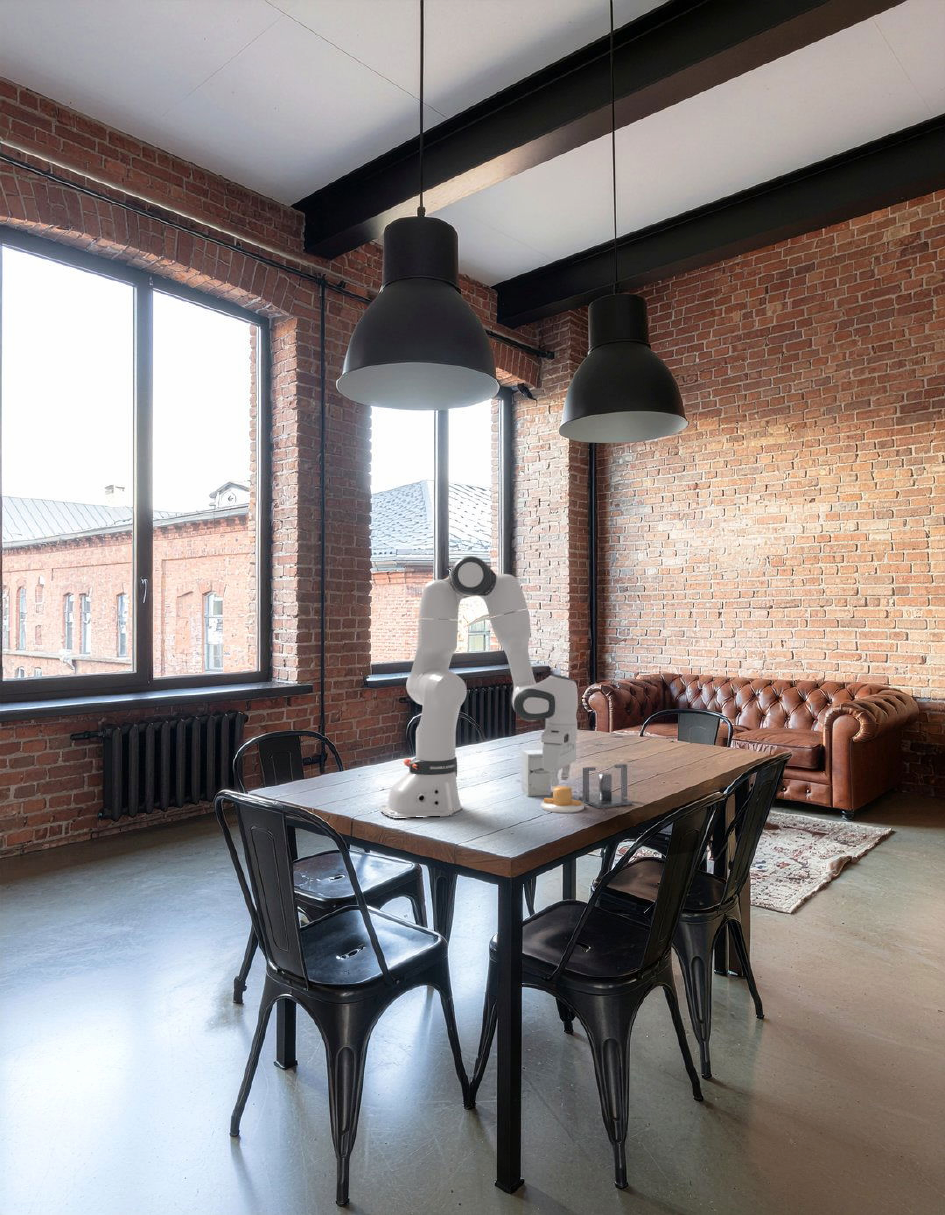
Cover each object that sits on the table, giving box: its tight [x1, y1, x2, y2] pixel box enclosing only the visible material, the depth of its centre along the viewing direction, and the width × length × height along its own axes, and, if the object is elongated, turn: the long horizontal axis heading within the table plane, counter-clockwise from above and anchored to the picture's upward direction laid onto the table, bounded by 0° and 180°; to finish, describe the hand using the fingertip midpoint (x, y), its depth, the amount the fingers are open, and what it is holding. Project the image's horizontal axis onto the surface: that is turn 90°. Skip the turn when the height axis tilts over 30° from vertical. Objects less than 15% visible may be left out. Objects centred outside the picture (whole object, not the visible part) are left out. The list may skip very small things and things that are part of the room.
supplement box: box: [521, 749, 552, 797], centre depth 236 cm, size 7×7×13 cm
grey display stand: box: [578, 763, 634, 809], centre depth 225 cm, size 14×11×10 cm
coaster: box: [540, 798, 585, 814], centre depth 219 cm, size 12×12×1 cm
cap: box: [543, 785, 582, 806], centre depth 219 cm, size 10×5×4 cm, turn 68°
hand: (559, 782), depth 219 cm, fingers open, 8 cm apart
